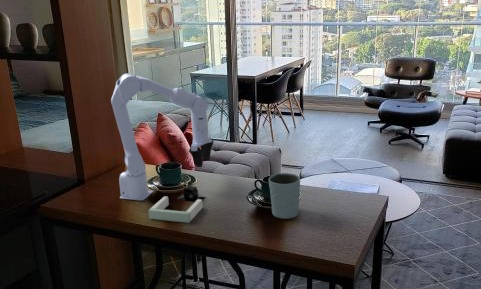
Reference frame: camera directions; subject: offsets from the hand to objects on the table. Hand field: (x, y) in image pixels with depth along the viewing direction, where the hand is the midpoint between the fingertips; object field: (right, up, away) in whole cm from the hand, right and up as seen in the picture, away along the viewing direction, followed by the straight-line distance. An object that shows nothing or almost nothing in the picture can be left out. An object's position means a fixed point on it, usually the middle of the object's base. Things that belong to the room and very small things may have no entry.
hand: (203, 163), depth 176 cm
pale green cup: (+29, -15, -24) cm, 40 cm away
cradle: (-7, -15, -20) cm, 26 cm away
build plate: (-3, -13, -9) cm, 16 cm away
